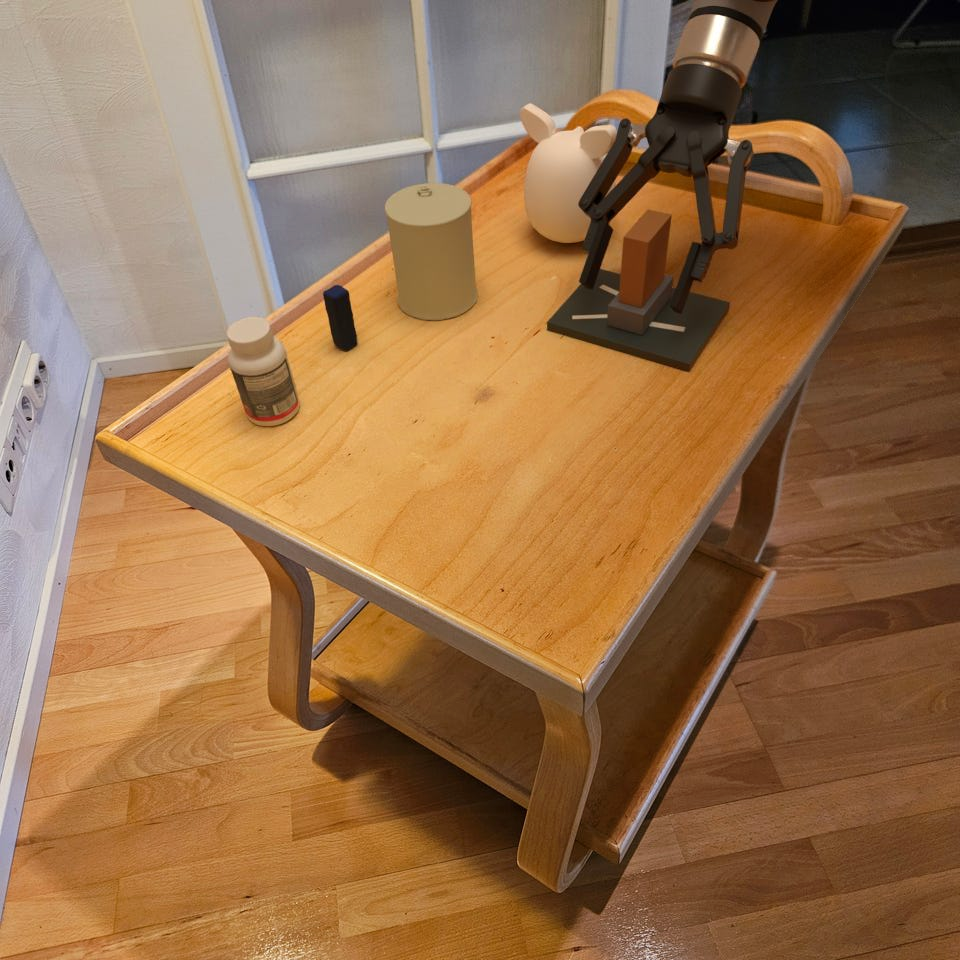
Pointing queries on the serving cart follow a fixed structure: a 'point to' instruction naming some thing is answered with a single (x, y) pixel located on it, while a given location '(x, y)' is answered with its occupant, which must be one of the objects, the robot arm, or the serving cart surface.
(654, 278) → the chalk eraser
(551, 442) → the serving cart surface
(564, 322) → the slate board
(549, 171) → the piggy bank
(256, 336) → the pill bottle
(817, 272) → the serving cart surface
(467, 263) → the can
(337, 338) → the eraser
